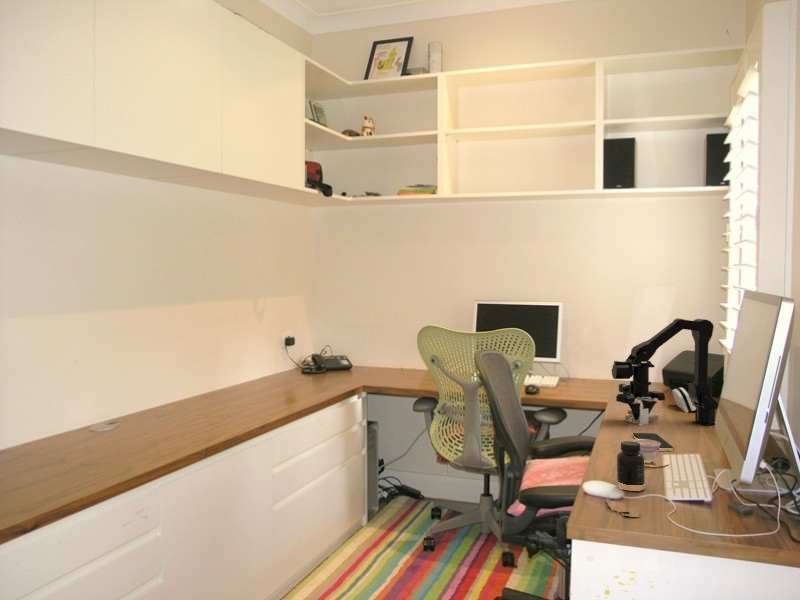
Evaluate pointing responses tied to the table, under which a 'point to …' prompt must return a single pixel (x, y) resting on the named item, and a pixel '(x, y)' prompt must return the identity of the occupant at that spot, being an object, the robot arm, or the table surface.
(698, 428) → the table surface
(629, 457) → the supplement bottle
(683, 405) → the white rounded piece
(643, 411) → the marking gauge
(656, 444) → the teacup
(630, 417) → the pine board
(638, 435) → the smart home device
